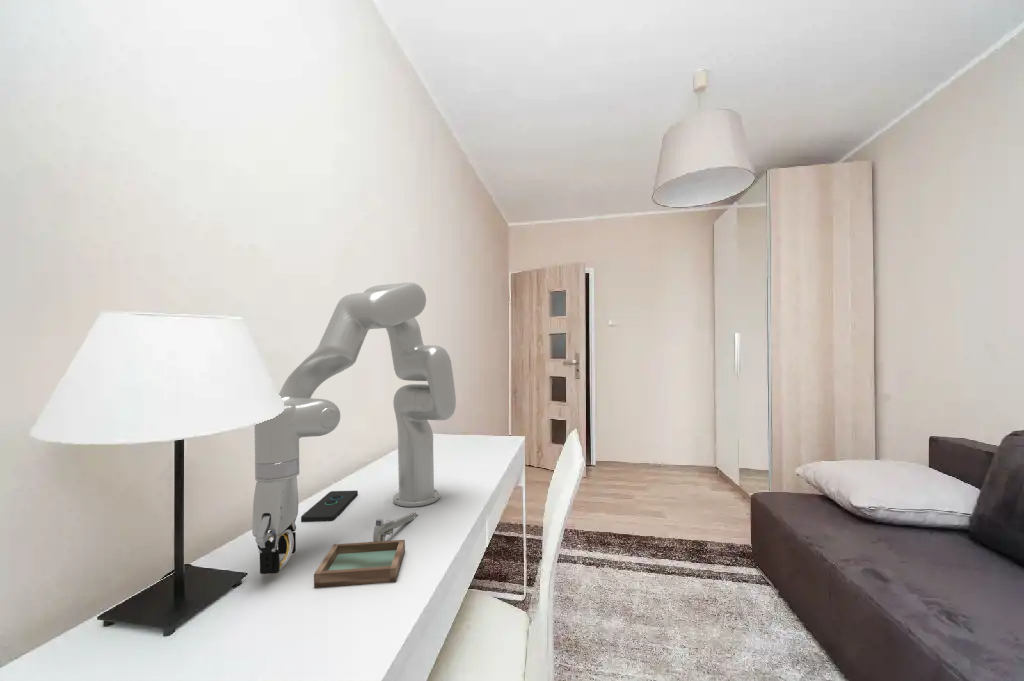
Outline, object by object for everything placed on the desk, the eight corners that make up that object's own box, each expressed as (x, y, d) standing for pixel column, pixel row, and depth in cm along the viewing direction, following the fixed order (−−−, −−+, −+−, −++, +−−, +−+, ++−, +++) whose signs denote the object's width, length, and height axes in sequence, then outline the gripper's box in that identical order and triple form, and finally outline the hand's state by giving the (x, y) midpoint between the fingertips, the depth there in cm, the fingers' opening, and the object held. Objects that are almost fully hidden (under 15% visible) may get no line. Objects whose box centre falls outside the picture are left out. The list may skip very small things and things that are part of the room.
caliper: (378, 554, 91) (377, 522, 91) (373, 554, 91) (372, 522, 91) (418, 516, 111) (417, 490, 111) (414, 516, 111) (413, 490, 112)
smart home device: (359, 489, 129) (333, 515, 109) (359, 495, 128) (333, 523, 108) (330, 490, 128) (299, 516, 108) (330, 496, 128) (299, 524, 108)
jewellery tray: (334, 556, 90) (333, 544, 90) (405, 551, 91) (404, 539, 91) (314, 588, 78) (313, 574, 78) (396, 581, 79) (395, 568, 79)
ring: (270, 579, 81) (270, 535, 81) (256, 577, 82) (256, 533, 82) (299, 561, 88) (298, 520, 88) (286, 560, 89) (285, 519, 89)
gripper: (276, 458, 93) (277, 544, 93) (233, 483, 76) (234, 588, 76) (313, 457, 94) (314, 541, 94) (279, 481, 77) (280, 585, 77)
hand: (278, 561), depth 85 cm, fingers closed on ring, 7 cm apart
